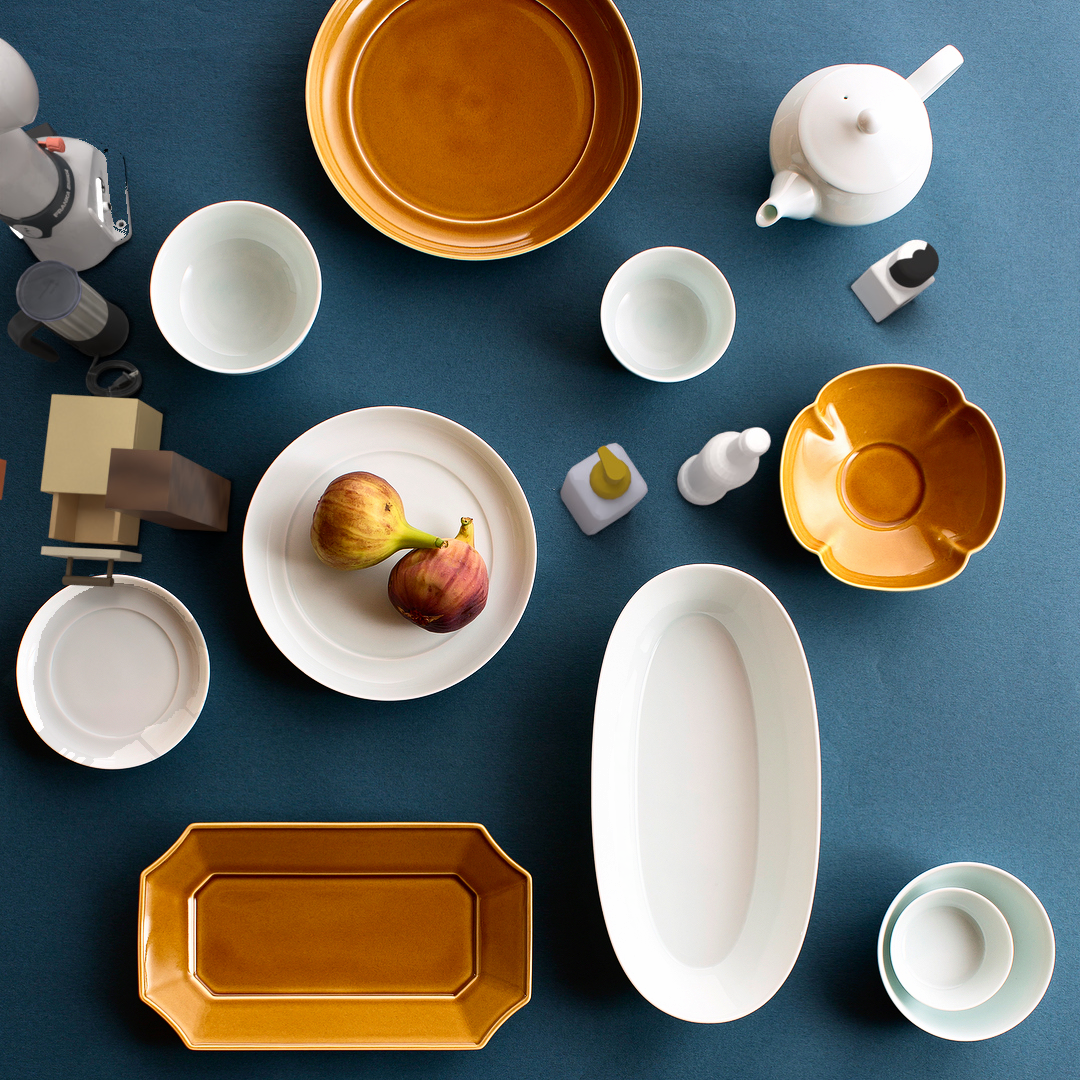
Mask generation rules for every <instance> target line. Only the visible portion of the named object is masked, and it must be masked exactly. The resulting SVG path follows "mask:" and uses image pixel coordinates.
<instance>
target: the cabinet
mask: <svg viewBox="0 0 1080 1080" xmlns="http://www.w3.org/2000/svg"><path fill="white" fill-rule="evenodd" d="M163 416H164V414H163V413H161V412H160V411H158V410H156V409H155V408H153V407H152V406H150V405H149V404H147V403H145V402H143V400H140V399H138V398H129V397H124V398H111V397H98V396H91V395H75V394H74V395H73V394H72V395H71V394H58V393H57V394H55V393H53V394H51V399H50V408H49V416H48V424H47V433H46V440H45V450H44V459H43V467H42V474H41V475H42V476H41V484H40V492H43V493H45V494H50V495H54V492H55V493H75V494H94V495H106V491H107V482H108V473H109V463H110V454H111V448H123V449H141V450H160V447H161V446H160V445H161V436H162V427H163V426H162V425H163V418H164V417H163Z"/></svg>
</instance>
